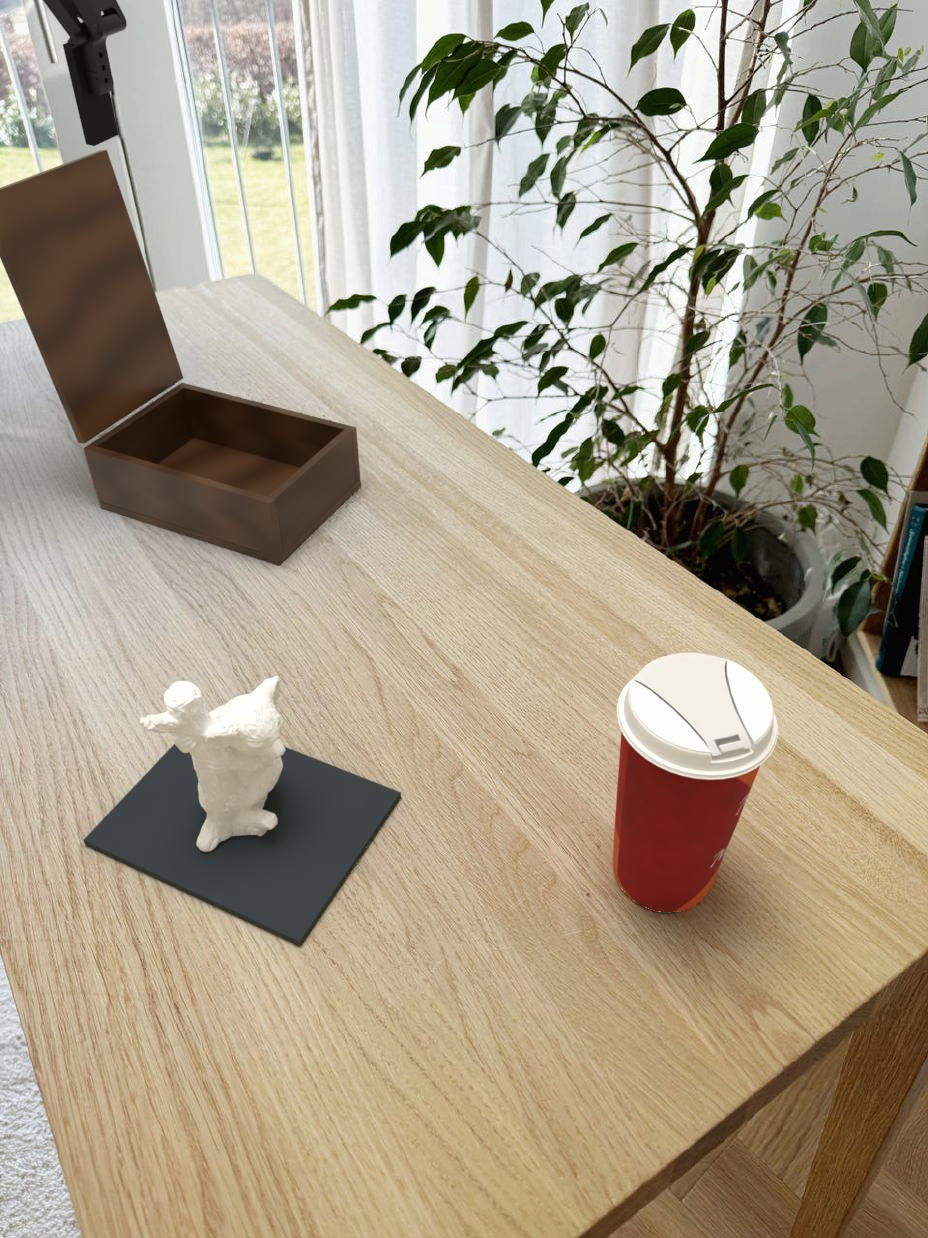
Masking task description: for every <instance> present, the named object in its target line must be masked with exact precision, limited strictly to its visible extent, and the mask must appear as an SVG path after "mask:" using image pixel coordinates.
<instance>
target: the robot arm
mask: <svg viewBox="0 0 928 1238" xmlns="http://www.w3.org/2000/svg"><path fill="white" fill-rule="evenodd" d="M42 1H43V3H44V4H45V5H46V7H47V8H48V9H49V11H50V12H51V14H52V15H53V16H54V18H55V19H56V20H57V21H58V23H59V24H60V26H61V27H62V29H63V30H64V31H65V32H66V34H67V35H68V37H69V38H68V40H67V41H66V43H63V44H62V48H63V52H64V56H65V61H66V64H67V65H66V66H67V69H68V73H69V78H70V82H71V86H72V90H73V94H74V98H75V103H76V107H77V111H78V116H79V121H80V124H81V125H80V126H81V128H82V134H83V137H84V142H85V144H86V145H87V146H92V147H97V146H98V145H100V144H103V143H104V142H107V141H109V140H111V139H112V138H114V137H117V136H119V130H118V125H117V120H116V116H115V111H114V107H113V106H114V105H113V101H112V96H111V92H112V91H114V85H115V82H114V78H113V77H114V76H113V74H112V73H113V72H112V69H111V63H110V59H109V58H110V57H109V52H108V48H107V38H109V36H112V35H115V34H118V33H120V32H123V31H125V30H126V29H127V25H128V23H127V19H126V16H125V14H124V12H123V11H122V8H121V6H120V5H119V2H118V1H117V0H42ZM102 13H103V14H102ZM79 18H80V19H79ZM80 20H81V21H82V22H81V21H80Z"/></svg>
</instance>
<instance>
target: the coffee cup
mask: <svg viewBox="0 0 928 1238" xmlns="http://www.w3.org/2000/svg"><path fill="white" fill-rule="evenodd" d="M616 719H617V723H618V726H619V729H620V731H621V732H620V747H619V761H618V773H617V786H616V787H617V788H616V798H615V799H616V800H615V801H616V802H615V814H614V815H615V816H614V817H615V818H614V831H613V833H614V834H613V846H612V847H613V849H612V851H613V852H612V869H613V874H614V878H615V877H616V878H615V881H616V880H617V881H616V883H617V882H618V883H619V885H620V887H621V888H622V889H623V891H625V893H626V894H627V895H628V896H629V897H630V898H631V899H632V900H634V901H635V902H637V903H638V904H640V905H642V906H644V907H647V908H649V909H652V910H655V911H661V912H678V911H679V913H681V912H680V911H683V910H684V911H683V912H686V911H685V910H687V909H689V910H691V909H692V908H691V907H693V908H694V906H695V905H696V906H698V905H699V904H700V903H702V901H704V899H705V897H706V896H707V895H708V893H709V891H710V889H711V887H712V885H713V883H714V881H715V879H716V876H717V874H718V872H719V869H720V867H721V864H722V862H723V860H724V857H725V855H726V852H727V849H728V848H729V845H730V842H731V840H732V838H733V835H734V833H735V831H736V827H737V825H738V822H739V820H740V818H741V815H742V814H743V810H744V808H745V806H746V803H747V800H748V798H749V795H750V792H751V790H752V787H753V785H754V782H755V780H756V777H757V775H758V773H759V770H760V768H761V765H763V764H765V762H766V761H767V760H768V759H769V757H771V755H772V754H773V752H774V750H775V748H776V746H777V741H778V738H779V725H778V720H777V716H776V715H775V710H774V706H773V701H772V698H771V696H770V694H769V691H767V689H766V687H765V685H763V683H762V682H761V681H760V680H759V679H758V677H757V676H756V675H754V674H753V673H752V672H751V671H749V670H748V669H746V668H745V667H744V666H742V665H741V664H739V663H737V662H734V661H733V660H730V659H727V658H725V657H721V656H717V655H712V654H707V653H701V652H692V651H691V652H690V651H689V652H677V653H671V654H668V655H664V656H661V657H658V658H656V659H653V660H651V661H649V662H648V663H647V664H646V665H644V667H642V668H641V669H640V671H639V672H638V673H637V674H636V675H635V676H634V677H632V678H631V680H630V681H628V682H627V683H626V685H625V686H624V687H623V688H622V690H621V692H620V694H619V697H618V700H617V705H616ZM618 883H617V884H618ZM619 885H618V886H619ZM620 887H619V888H620ZM621 888H620V889H621ZM623 891H622V892H623ZM625 893H624V894H625ZM626 894H625V895H626ZM627 895H626V896H627ZM628 896H627V897H628ZM629 897H628V898H629ZM630 898H629V899H630ZM703 898H704V899H703ZM631 899H630V900H631ZM632 900H631V901H632ZM635 902H634V903H635ZM699 902H700V903H699ZM698 903H699V904H698ZM638 904H637V905H638ZM697 904H698V905H697ZM640 905H639V906H640ZM696 906H695V907H696ZM644 907H643V908H644ZM690 908H691V909H690ZM655 911H654V912H655ZM687 911H688V910H687Z"/></svg>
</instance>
